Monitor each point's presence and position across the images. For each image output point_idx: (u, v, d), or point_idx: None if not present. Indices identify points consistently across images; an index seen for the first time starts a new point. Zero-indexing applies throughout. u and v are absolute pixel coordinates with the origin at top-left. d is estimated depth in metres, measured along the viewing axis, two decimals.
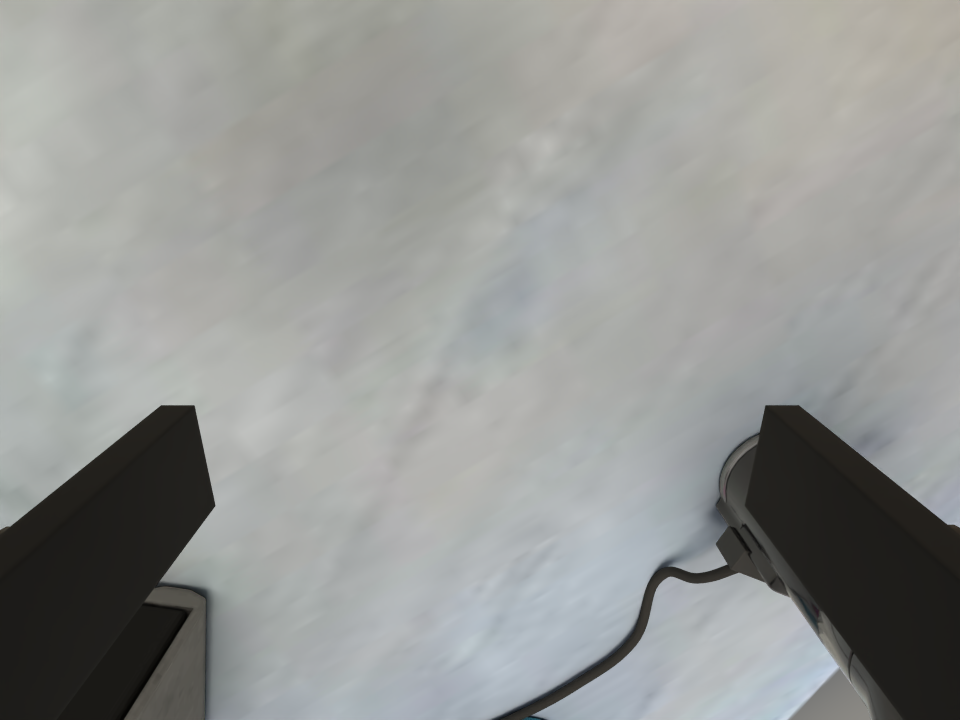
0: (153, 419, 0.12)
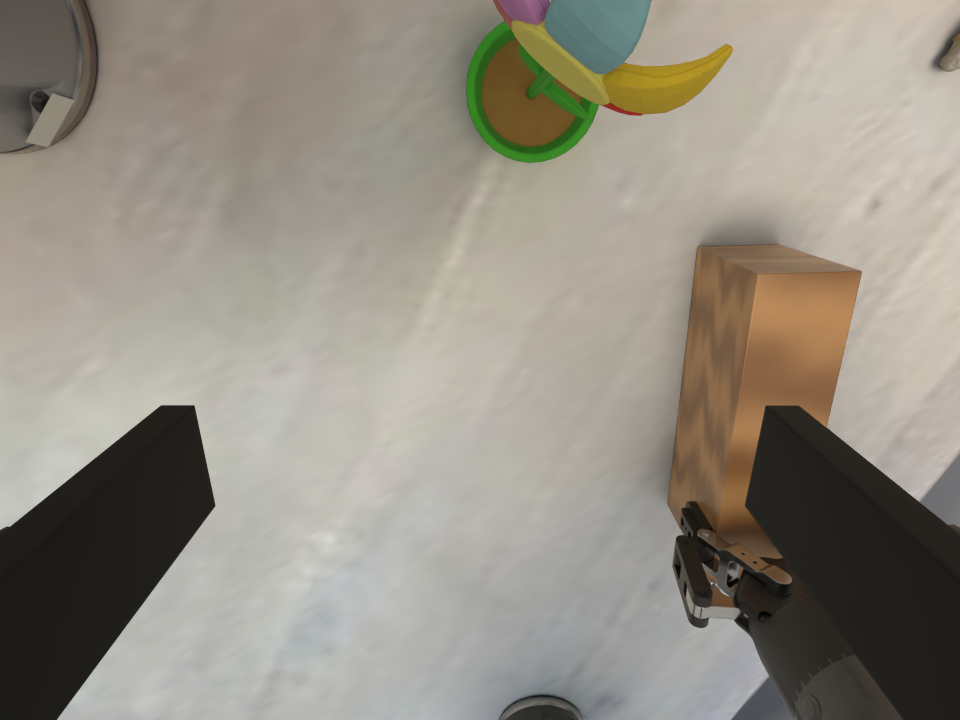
0: (153, 419, 0.12)
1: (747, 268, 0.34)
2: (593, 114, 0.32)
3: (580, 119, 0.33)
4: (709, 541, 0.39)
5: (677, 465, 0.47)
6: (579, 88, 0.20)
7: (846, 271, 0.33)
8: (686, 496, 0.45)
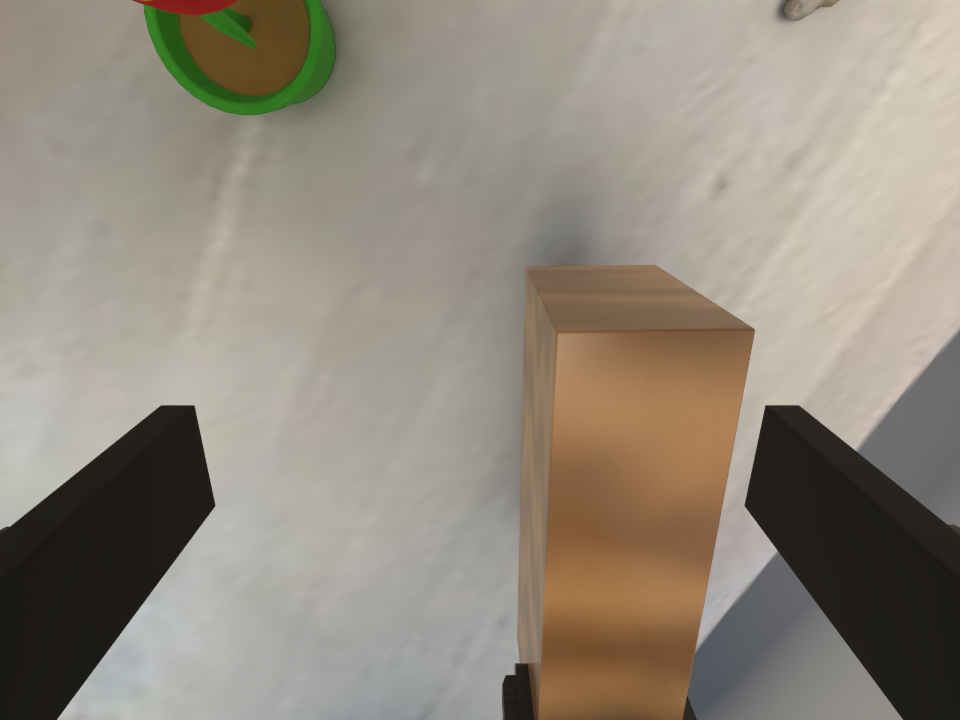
0: (153, 419, 0.12)
1: (552, 316, 0.18)
2: (316, 53, 0.25)
3: None
4: None
5: (520, 589, 0.32)
6: None
7: (725, 328, 0.17)
8: (524, 644, 0.30)
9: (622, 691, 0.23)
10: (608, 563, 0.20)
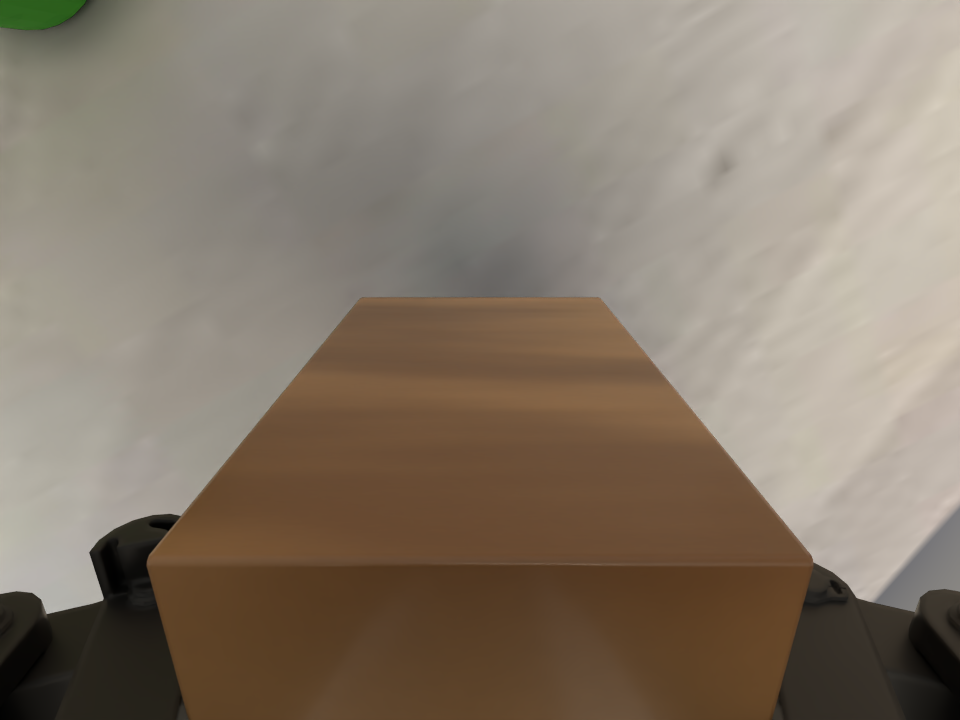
0: None
1: (227, 466, 0.06)
2: None
3: None
4: None
5: None
6: None
7: (715, 555, 0.05)
8: None
9: None
10: None
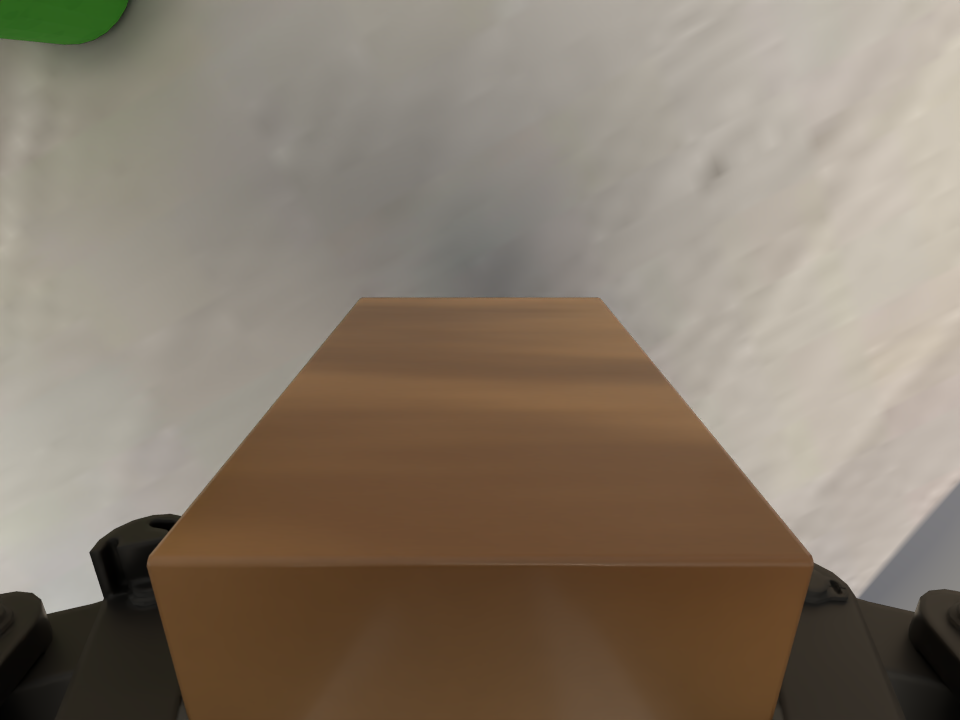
0: None
1: (227, 466, 0.06)
2: None
3: None
4: None
5: None
6: None
7: (716, 554, 0.05)
8: None
9: None
10: None
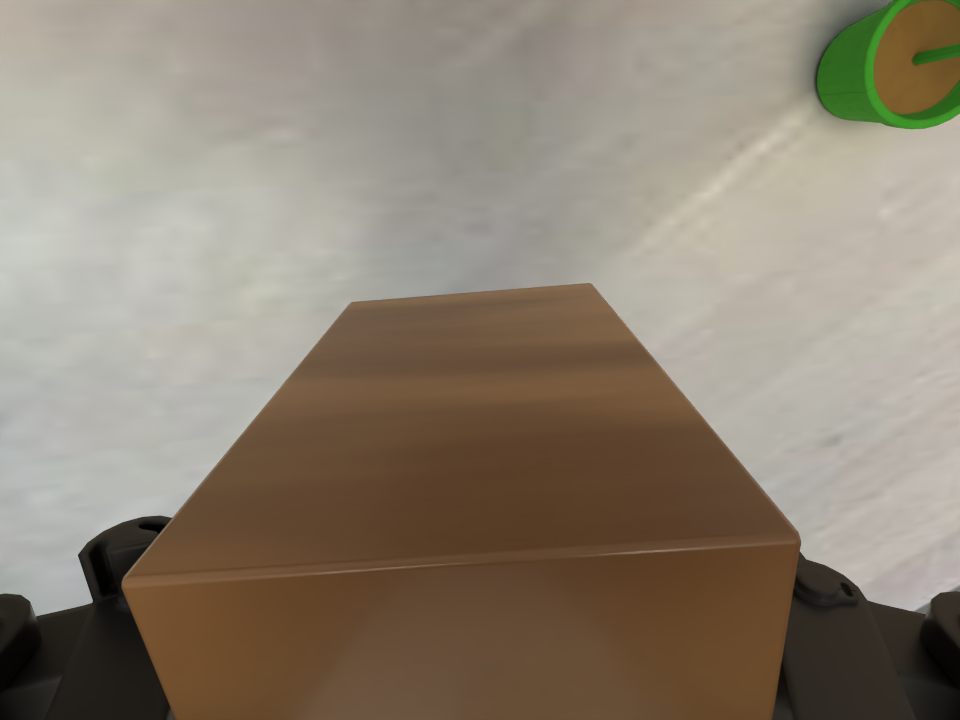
0: None
1: (207, 482, 0.06)
2: None
3: (949, 104, 0.33)
4: None
5: None
6: None
7: (697, 537, 0.05)
8: None
9: None
10: None
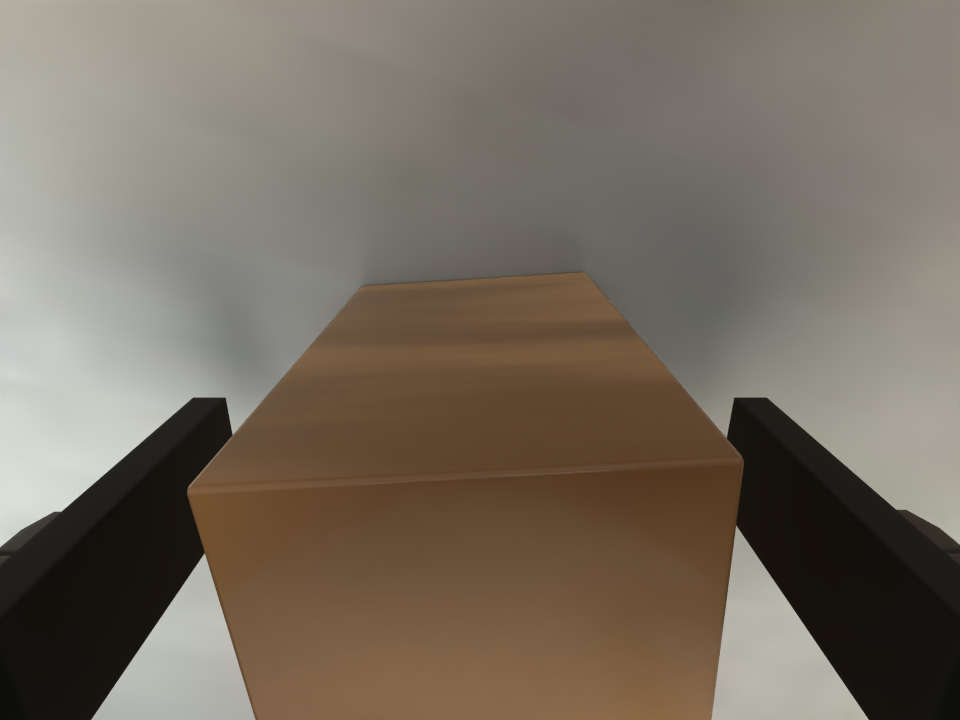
0: (187, 410, 0.12)
1: (248, 422, 0.08)
2: None
3: None
4: None
5: None
6: None
7: (660, 459, 0.06)
8: None
9: None
10: None
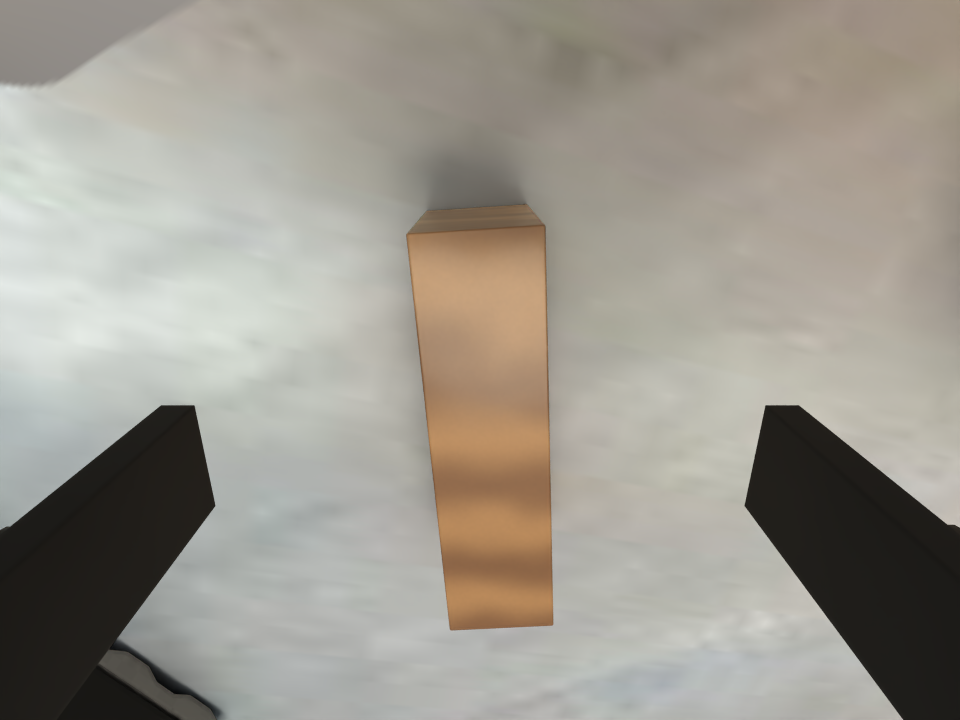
0: (153, 419, 0.12)
1: (412, 228, 0.26)
2: None
3: None
4: None
5: None
6: None
7: (524, 225, 0.24)
8: None
9: (500, 522, 0.30)
10: (472, 412, 0.28)
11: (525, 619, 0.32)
